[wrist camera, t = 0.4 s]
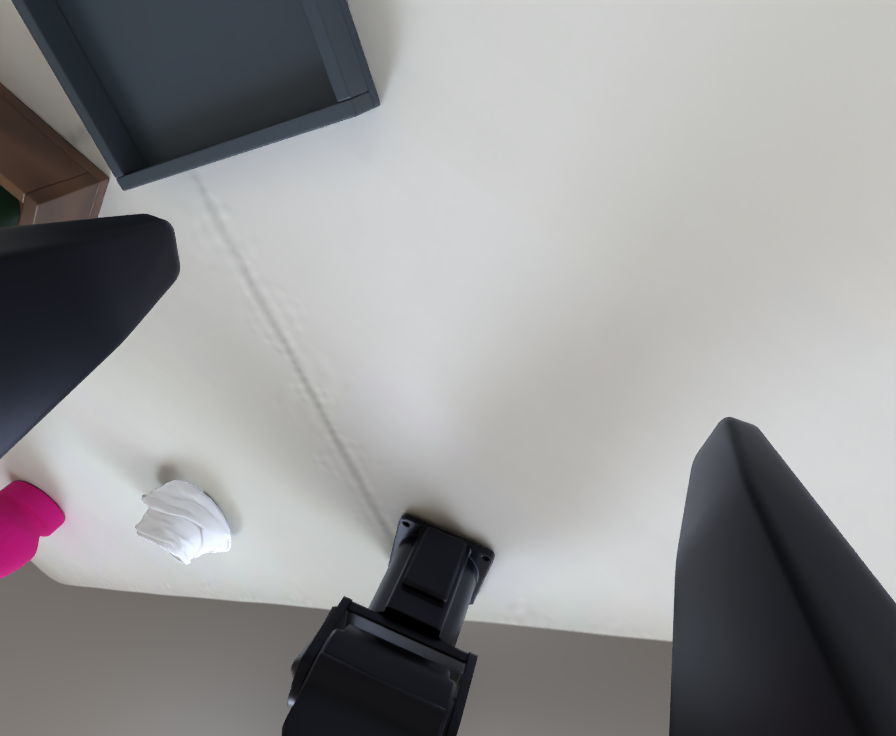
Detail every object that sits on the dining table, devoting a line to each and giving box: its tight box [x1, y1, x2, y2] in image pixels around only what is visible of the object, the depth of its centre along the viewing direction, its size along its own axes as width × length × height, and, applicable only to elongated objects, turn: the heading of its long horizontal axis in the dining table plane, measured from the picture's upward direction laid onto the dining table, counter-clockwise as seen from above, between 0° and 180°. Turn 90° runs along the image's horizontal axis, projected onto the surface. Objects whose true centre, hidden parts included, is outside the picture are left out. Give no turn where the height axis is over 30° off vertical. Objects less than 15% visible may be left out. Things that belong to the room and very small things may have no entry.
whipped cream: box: [135, 479, 231, 564], centre depth 43 cm, size 8×7×5 cm
